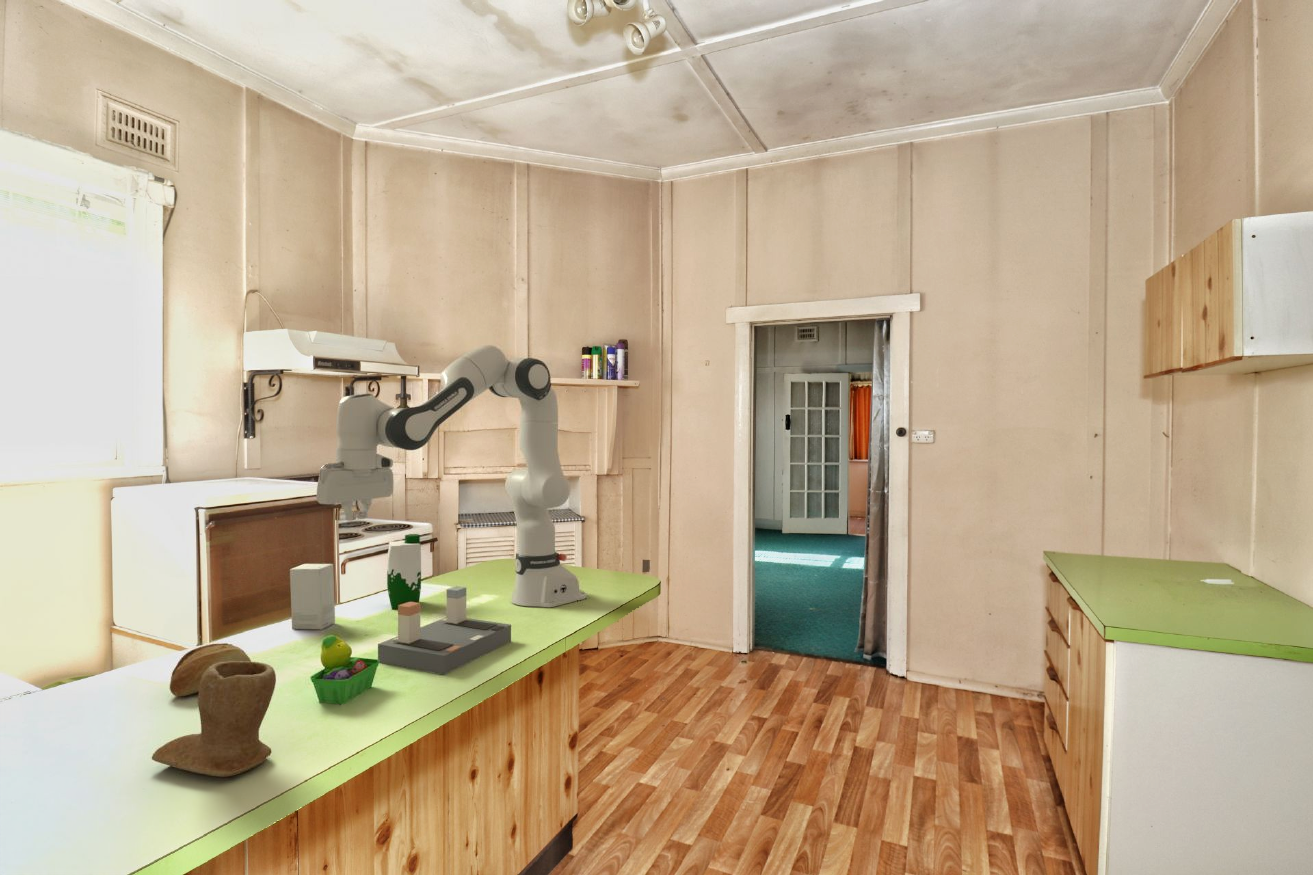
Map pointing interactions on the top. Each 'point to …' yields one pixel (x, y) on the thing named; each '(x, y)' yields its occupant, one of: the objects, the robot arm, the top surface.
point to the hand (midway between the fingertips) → (356, 519)
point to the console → (445, 645)
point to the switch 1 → (409, 622)
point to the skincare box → (312, 596)
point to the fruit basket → (342, 672)
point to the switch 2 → (456, 604)
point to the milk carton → (404, 570)
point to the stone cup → (226, 721)
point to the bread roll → (201, 666)
